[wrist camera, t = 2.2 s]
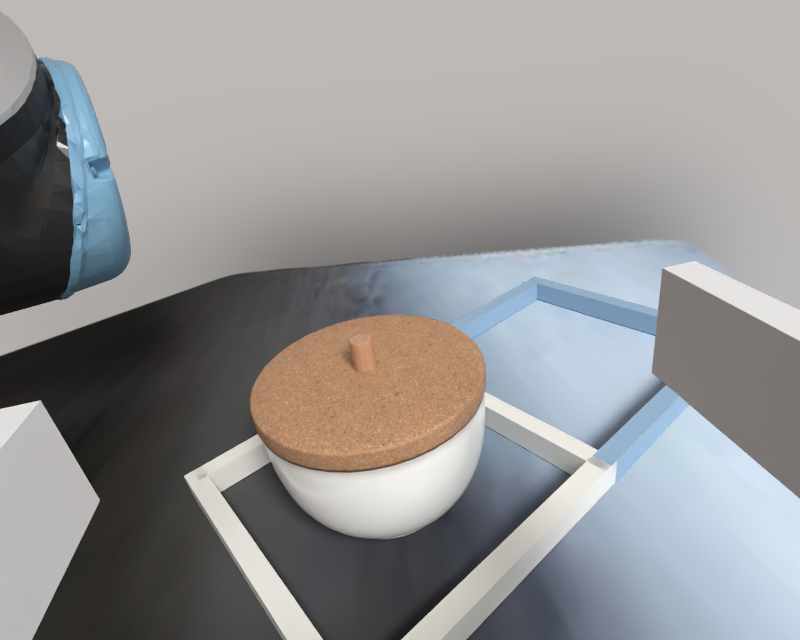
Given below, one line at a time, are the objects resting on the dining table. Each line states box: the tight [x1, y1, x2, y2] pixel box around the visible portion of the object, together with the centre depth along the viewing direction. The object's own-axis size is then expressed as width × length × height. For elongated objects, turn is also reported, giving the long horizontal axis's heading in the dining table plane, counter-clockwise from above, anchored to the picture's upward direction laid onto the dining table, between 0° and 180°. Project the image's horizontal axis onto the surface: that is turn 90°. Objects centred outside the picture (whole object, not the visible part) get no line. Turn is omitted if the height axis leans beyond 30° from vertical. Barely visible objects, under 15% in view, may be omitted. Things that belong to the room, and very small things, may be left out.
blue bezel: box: [451, 277, 689, 482], centre depth 34 cm, size 16×16×2 cm
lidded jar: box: [249, 315, 486, 540], centre depth 24 cm, size 11×11×9 cm
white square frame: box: [184, 392, 617, 640], centre depth 26 cm, size 16×16×2 cm
